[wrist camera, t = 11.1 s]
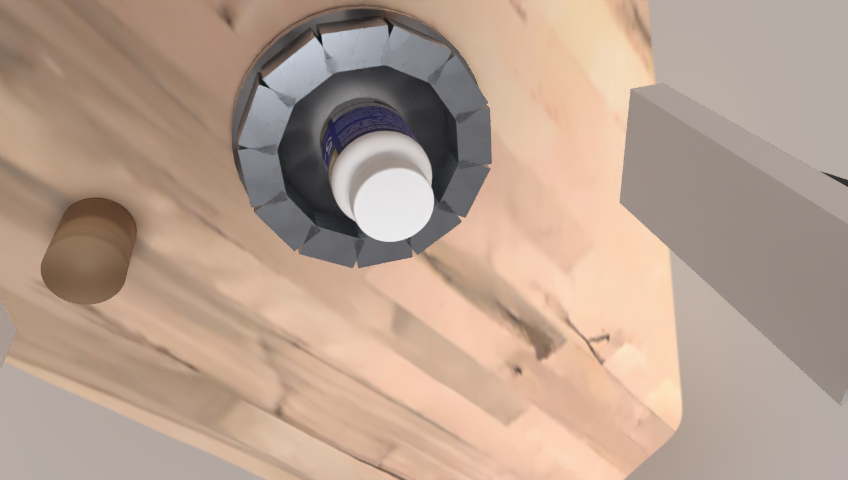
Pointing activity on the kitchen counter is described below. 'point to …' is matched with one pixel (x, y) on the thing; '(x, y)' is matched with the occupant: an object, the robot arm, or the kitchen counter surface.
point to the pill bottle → (377, 169)
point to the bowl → (336, 84)
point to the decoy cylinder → (90, 252)
